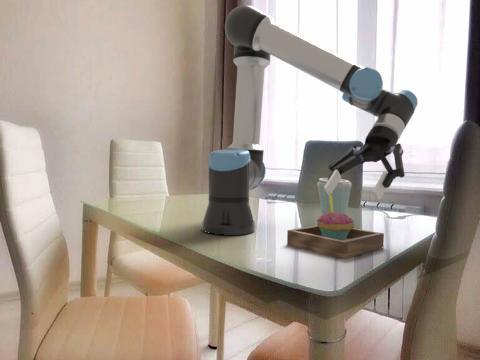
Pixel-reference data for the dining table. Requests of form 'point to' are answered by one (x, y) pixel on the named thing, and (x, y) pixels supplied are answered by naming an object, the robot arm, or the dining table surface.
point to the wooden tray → (335, 241)
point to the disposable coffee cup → (334, 196)
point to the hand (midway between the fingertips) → (349, 193)
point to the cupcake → (335, 224)
